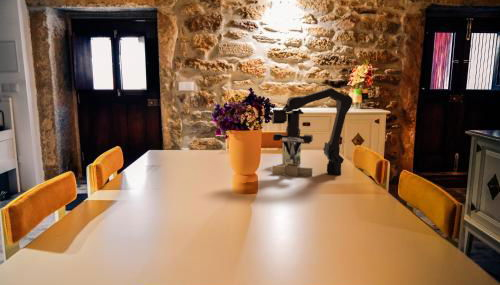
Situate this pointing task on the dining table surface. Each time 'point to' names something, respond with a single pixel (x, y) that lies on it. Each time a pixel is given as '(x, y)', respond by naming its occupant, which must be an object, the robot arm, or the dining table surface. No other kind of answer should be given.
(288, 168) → the wooden box with arms
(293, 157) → the pin
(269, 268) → the dining table surface
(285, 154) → the coffee can
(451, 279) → the dining table surface
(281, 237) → the dining table surface
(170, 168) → the dining table surface
